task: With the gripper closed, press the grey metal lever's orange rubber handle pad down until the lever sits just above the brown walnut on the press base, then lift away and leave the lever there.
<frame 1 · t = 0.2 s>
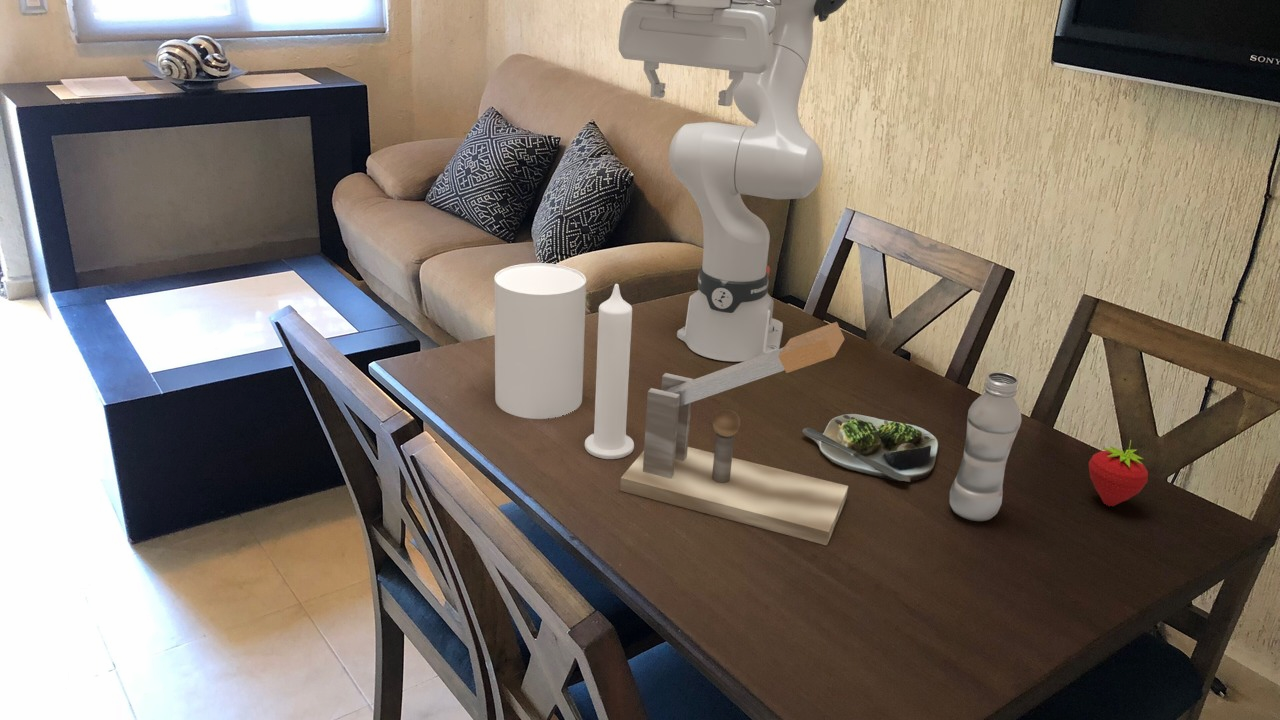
hand: (690, 101, 133), 48 cm above the table, tool pointing down, fingers open, 8 cm apart
press lever: (741, 371, 127), point 18 cm above the table, hinge at 32.0°
candle: (609, 448, 144), on the table
salad plate: (880, 456, 147), on the table
plastic bottle: (971, 515, 133), on the table
press base: (733, 494, 134), on the table
strawberry: (1107, 506, 137), on the table
canister: (538, 399, 157), on the table
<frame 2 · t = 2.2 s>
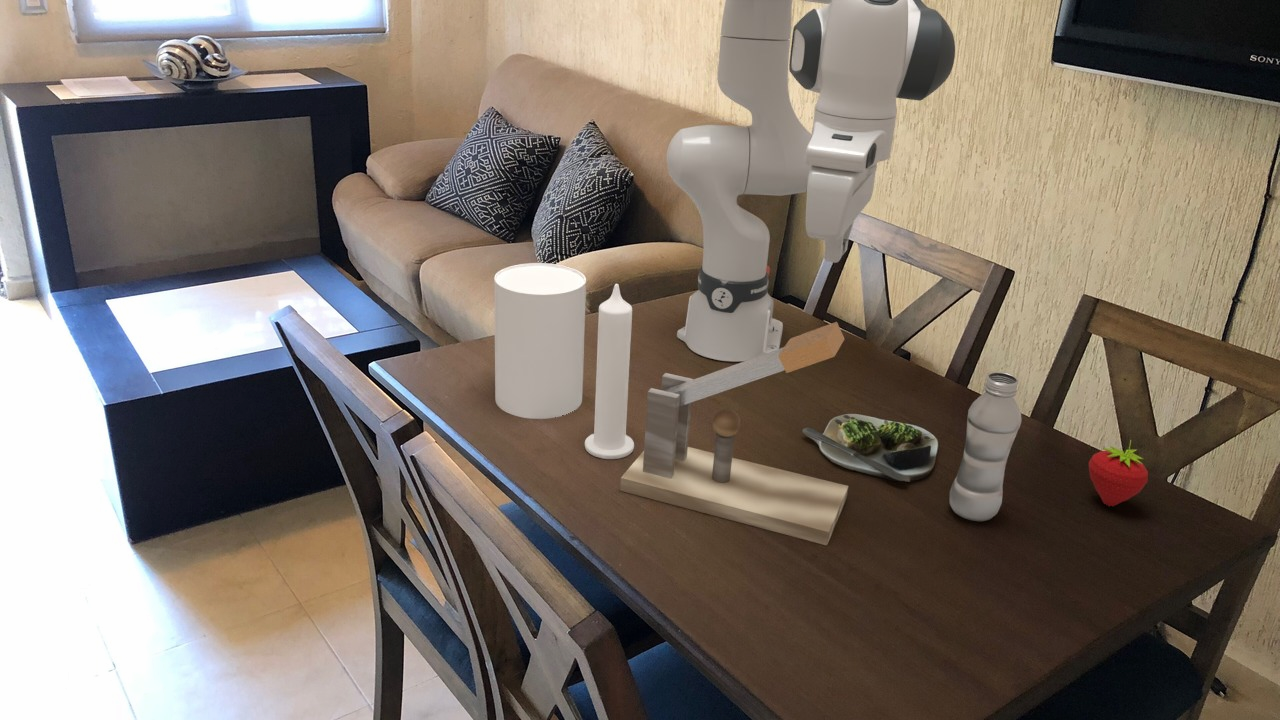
hand: (835, 256, 117), 35 cm above the table, tool pointing down, fingers closed
nothing on the table moved.
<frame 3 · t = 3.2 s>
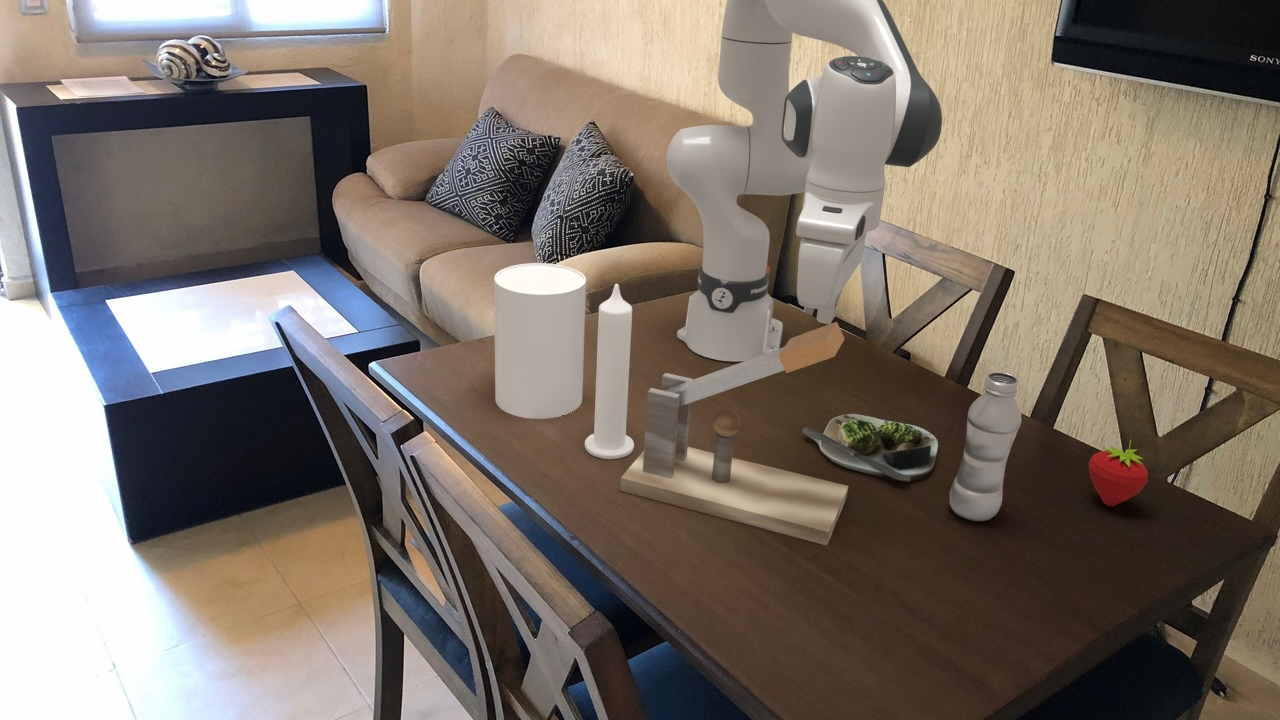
hand: (826, 319, 120), 27 cm above the table, tool pointing down, fingers closed
nothing on the table moved.
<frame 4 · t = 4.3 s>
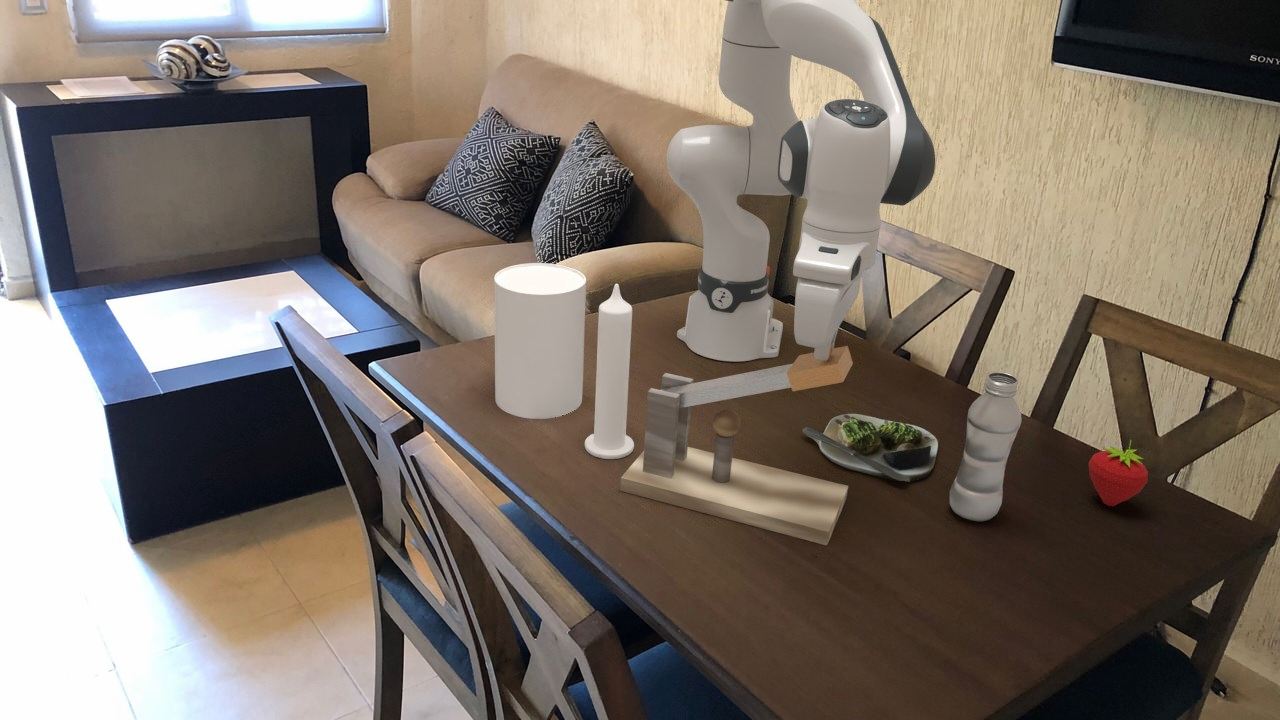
hand: (823, 355, 122), 23 cm above the table, tool pointing down, fingers closed, pressing on press lever
press lever: (746, 382, 127), point 17 cm above the table, hinge at 24.1°, touching gripper
everything else where it was.
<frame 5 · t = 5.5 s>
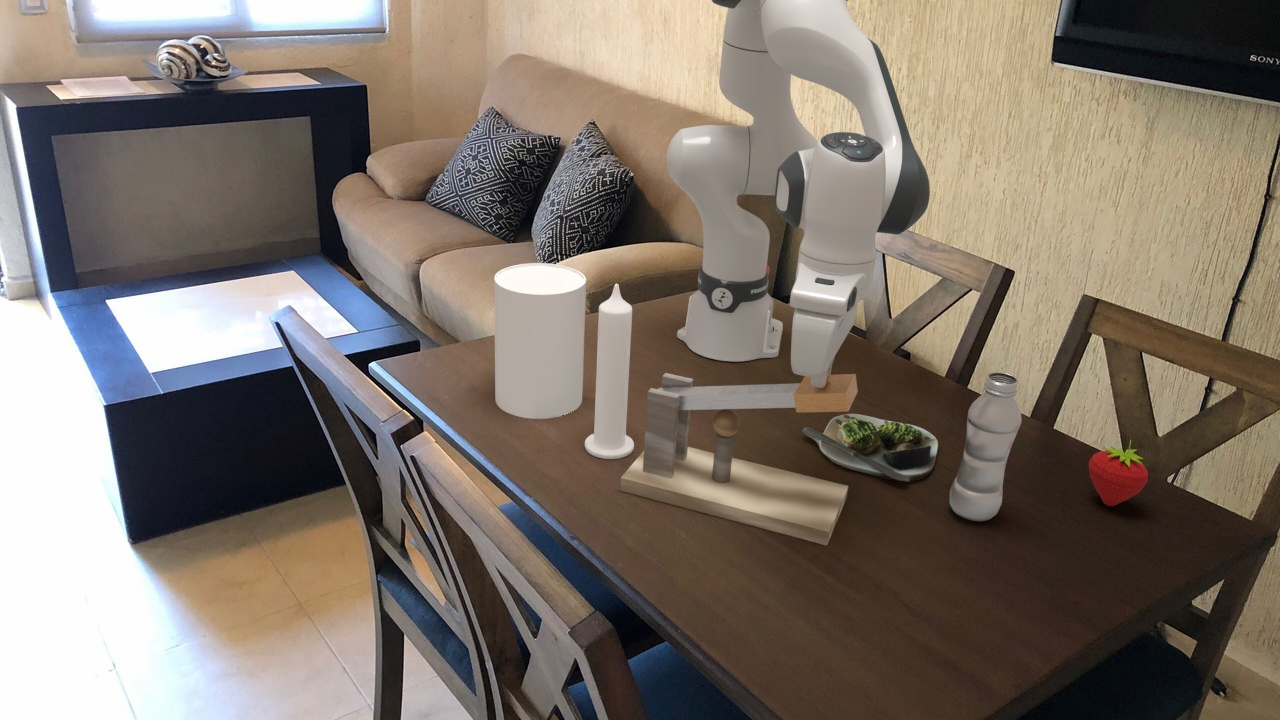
hand: (819, 383, 123), 19 cm above the table, tool pointing down, fingers closed, pressing on press lever
press lever: (749, 395, 128), point 15 cm above the table, hinge at 15.1°, touching gripper
everything else where it was.
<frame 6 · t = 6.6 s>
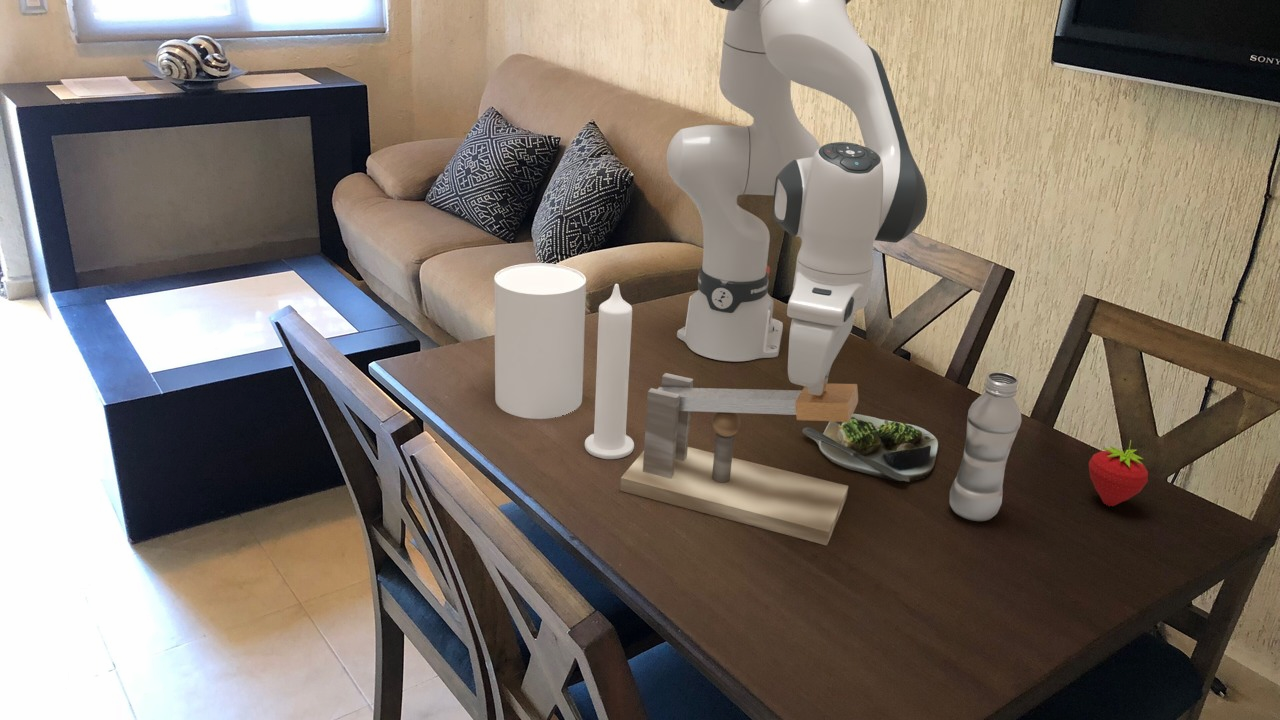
hand: (816, 390, 124), 18 cm above the table, tool pointing down, fingers closed
press lever: (750, 399, 128), point 14 cm above the table, hinge at 11.8°
everything else where it was.
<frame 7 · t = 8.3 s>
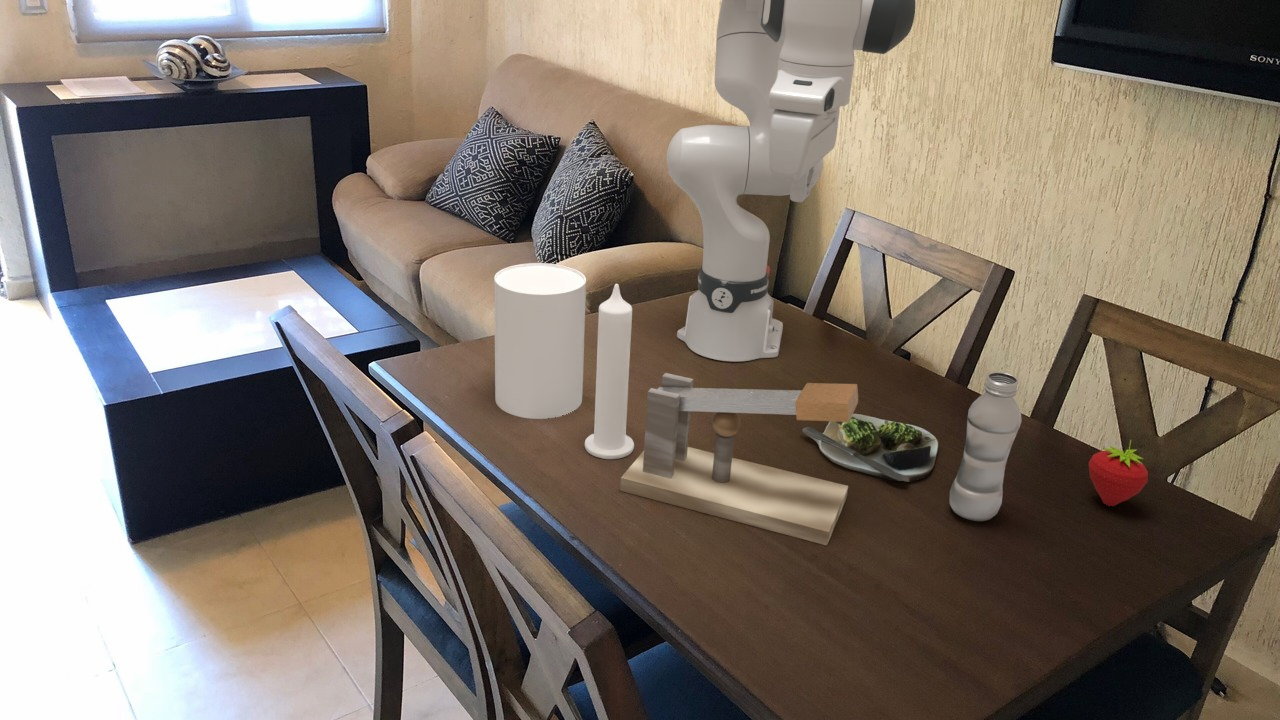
hand: (799, 199, 125), 39 cm above the table, tool pointing down, fingers closed
nothing on the table moved.
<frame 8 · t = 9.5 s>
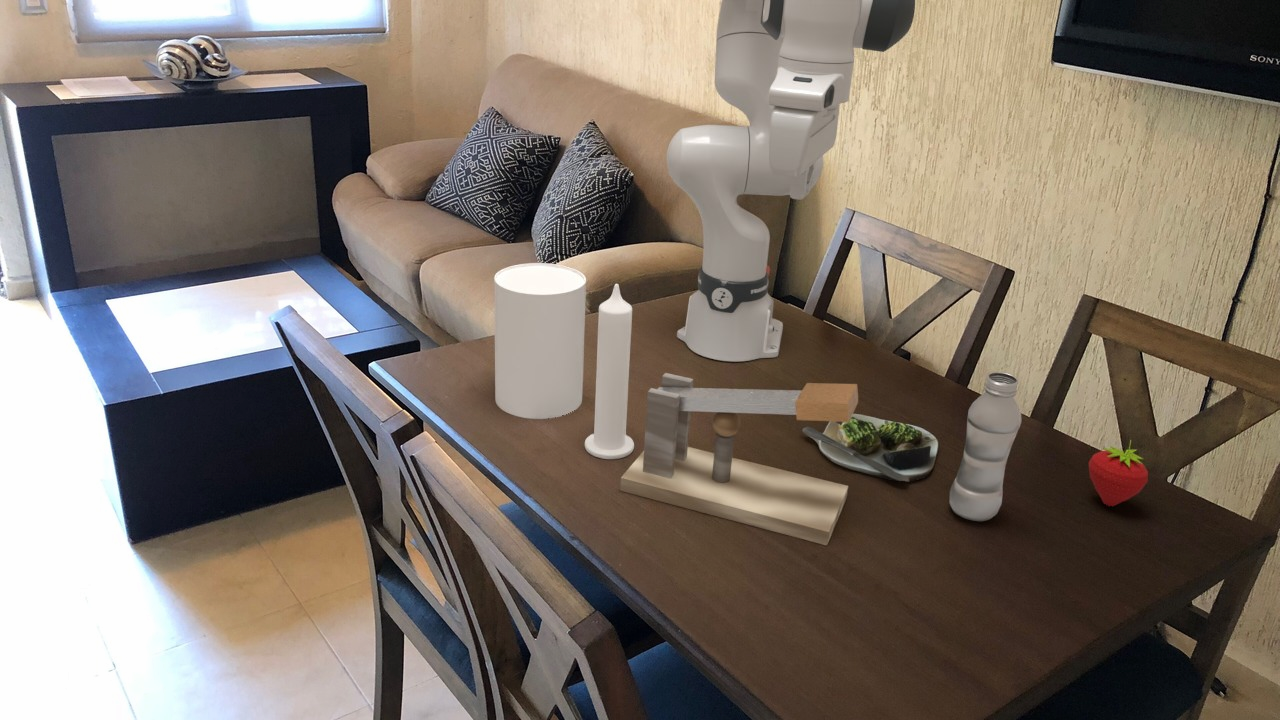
hand: (799, 196, 125), 39 cm above the table, tool pointing down, fingers closed
nothing on the table moved.
at the end: press lever at +12° (first picture: +32°); candle moved 0.2 cm from its start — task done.
